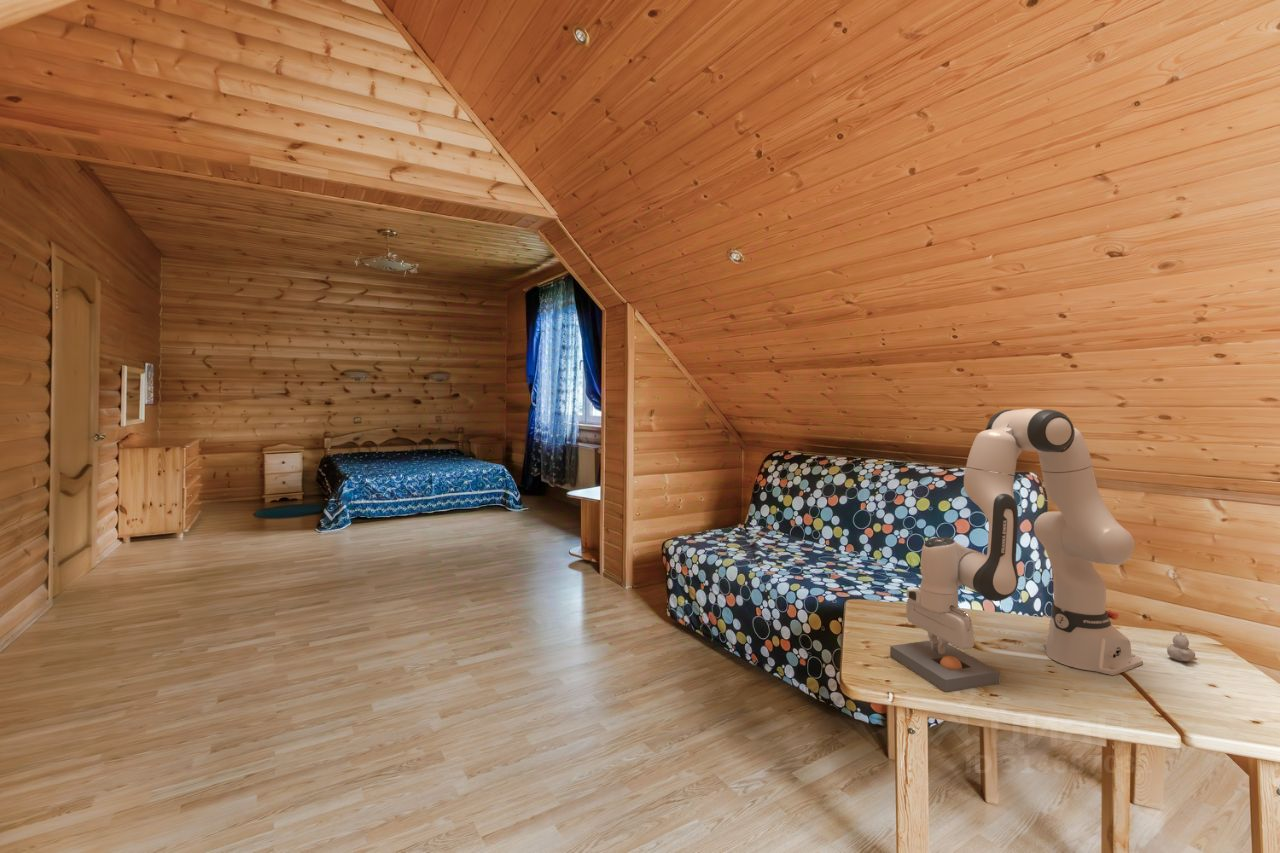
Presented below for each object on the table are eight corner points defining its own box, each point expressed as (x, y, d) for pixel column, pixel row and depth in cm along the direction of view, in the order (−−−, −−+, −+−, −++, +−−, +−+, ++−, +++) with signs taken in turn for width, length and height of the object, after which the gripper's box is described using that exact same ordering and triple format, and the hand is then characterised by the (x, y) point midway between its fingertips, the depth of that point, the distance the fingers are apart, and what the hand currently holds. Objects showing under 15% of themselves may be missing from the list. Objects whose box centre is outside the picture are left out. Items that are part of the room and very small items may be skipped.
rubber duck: (1188, 657, 155) (1189, 628, 155) (1200, 668, 149) (1201, 638, 149) (1162, 654, 157) (1163, 625, 157) (1173, 664, 151) (1174, 634, 151)
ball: (968, 676, 144) (954, 676, 148) (964, 655, 146) (949, 655, 150) (952, 676, 143) (937, 676, 147) (947, 655, 145) (933, 655, 149)
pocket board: (939, 649, 162) (939, 639, 162) (999, 683, 142) (999, 671, 142) (890, 656, 158) (890, 645, 158) (945, 692, 139) (945, 679, 138)
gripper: (981, 612, 141) (980, 667, 142) (921, 586, 161) (920, 635, 162) (960, 615, 140) (959, 671, 140) (902, 589, 160) (901, 637, 160)
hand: (938, 651), depth 151 cm, fingers closed
